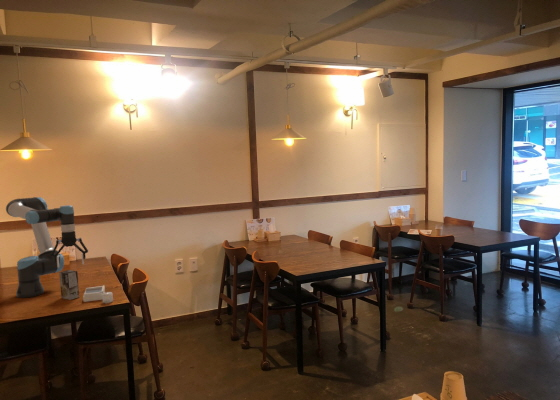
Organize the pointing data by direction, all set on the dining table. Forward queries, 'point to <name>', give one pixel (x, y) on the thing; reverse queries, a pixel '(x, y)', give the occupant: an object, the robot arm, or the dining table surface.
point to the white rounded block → (107, 297)
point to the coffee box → (69, 284)
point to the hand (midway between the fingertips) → (70, 265)
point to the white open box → (93, 293)
